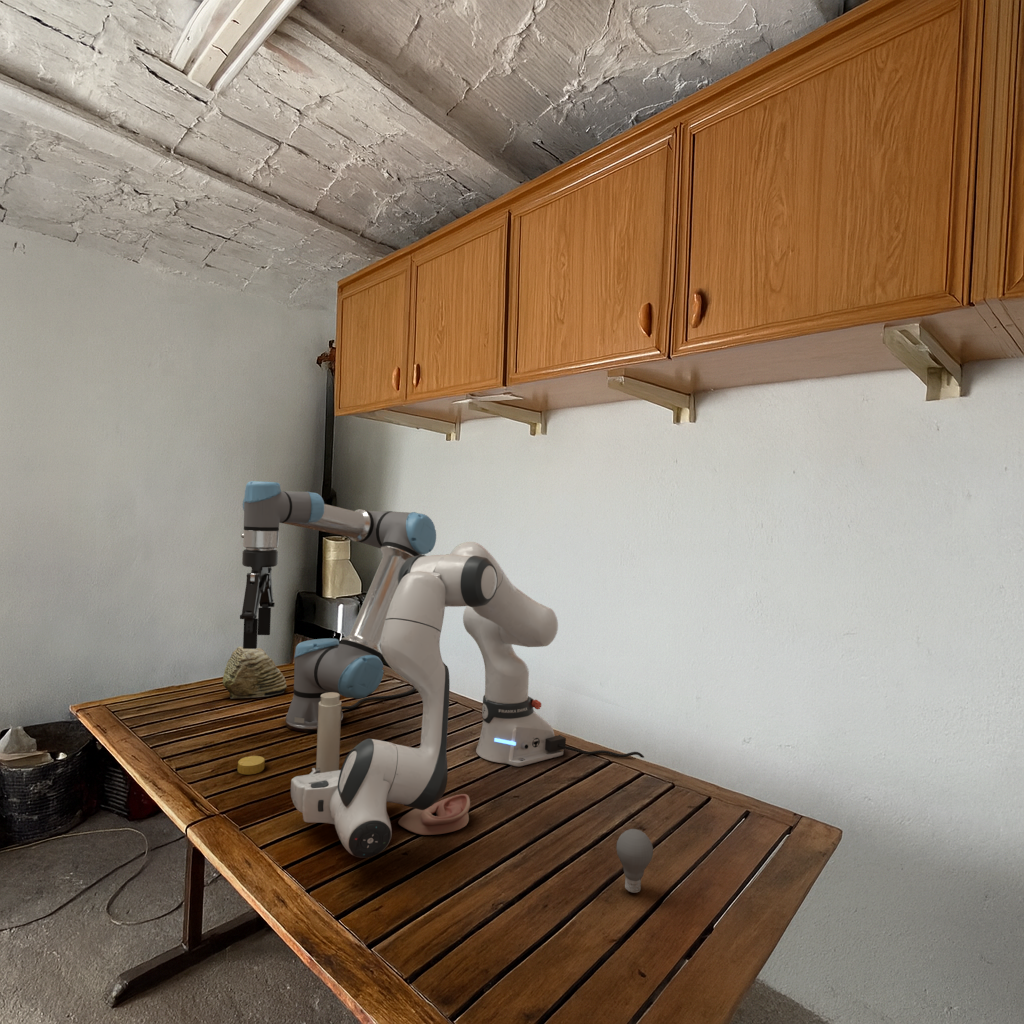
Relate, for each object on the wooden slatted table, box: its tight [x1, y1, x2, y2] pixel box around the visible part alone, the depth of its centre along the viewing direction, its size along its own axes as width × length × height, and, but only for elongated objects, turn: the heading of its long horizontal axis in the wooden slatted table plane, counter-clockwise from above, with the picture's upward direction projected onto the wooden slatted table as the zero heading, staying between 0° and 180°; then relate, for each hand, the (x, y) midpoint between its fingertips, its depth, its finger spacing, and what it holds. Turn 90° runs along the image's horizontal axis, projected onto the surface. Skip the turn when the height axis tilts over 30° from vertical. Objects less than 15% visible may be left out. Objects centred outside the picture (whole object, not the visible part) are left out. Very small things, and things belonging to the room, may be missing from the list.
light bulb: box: [615, 828, 654, 894], centre depth 106 cm, size 6×6×10 cm
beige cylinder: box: [315, 692, 343, 773], centre depth 143 cm, size 5×5×19 cm
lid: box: [236, 755, 266, 776], centre depth 145 cm, size 6×6×2 cm
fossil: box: [222, 646, 288, 699], centre depth 198 cm, size 9×18×15 cm, turn 132°
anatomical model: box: [397, 793, 471, 836], centre depth 125 cm, size 13×4×12 cm
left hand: (257, 641), depth 145 cm, fingers open, 13 cm apart
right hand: (338, 768), depth 132 cm, fingers open, 8 cm apart
